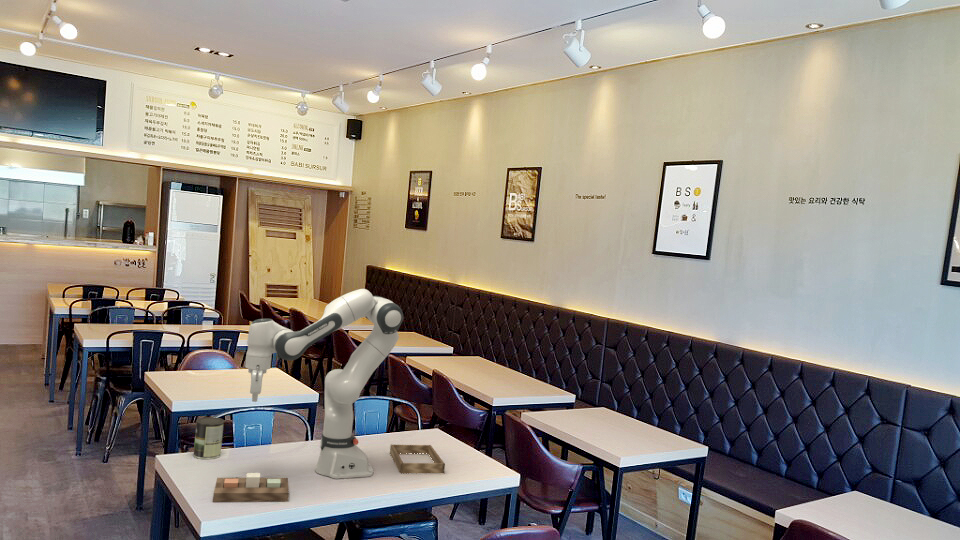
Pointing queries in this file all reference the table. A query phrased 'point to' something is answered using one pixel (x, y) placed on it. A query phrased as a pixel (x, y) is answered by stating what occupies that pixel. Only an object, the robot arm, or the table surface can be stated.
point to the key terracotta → (231, 483)
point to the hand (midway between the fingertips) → (254, 400)
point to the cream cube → (252, 480)
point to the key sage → (273, 483)
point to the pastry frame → (417, 467)
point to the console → (251, 491)
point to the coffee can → (208, 438)
